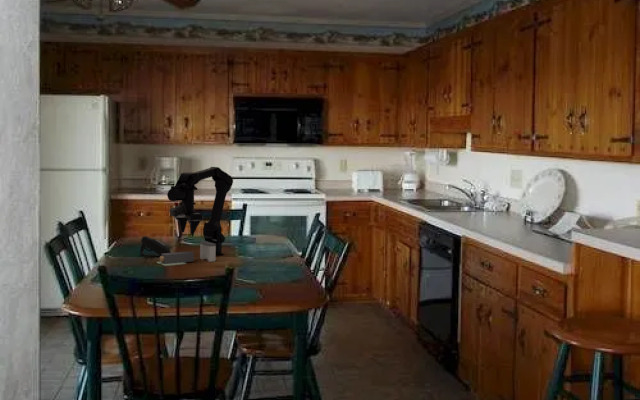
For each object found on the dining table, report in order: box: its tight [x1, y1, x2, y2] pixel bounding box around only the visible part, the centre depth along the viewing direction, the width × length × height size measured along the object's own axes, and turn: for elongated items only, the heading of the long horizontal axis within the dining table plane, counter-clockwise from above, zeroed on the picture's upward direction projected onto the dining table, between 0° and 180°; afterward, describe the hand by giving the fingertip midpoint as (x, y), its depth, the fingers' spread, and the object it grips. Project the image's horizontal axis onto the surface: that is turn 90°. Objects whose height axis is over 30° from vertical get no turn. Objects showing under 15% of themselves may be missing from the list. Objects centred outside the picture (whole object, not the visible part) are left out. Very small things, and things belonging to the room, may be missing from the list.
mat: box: [155, 261, 187, 267], centre depth 315 cm, size 10×9×1 cm
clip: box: [199, 240, 217, 263], centre depth 326 cm, size 3×9×8 cm, turn 39°
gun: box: [139, 236, 172, 257], centre depth 331 cm, size 3×16×10 cm, turn 79°
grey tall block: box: [159, 250, 195, 264], centre depth 316 cm, size 15×4×4 cm, turn 129°
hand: (187, 233), depth 325 cm, fingers open, 9 cm apart
